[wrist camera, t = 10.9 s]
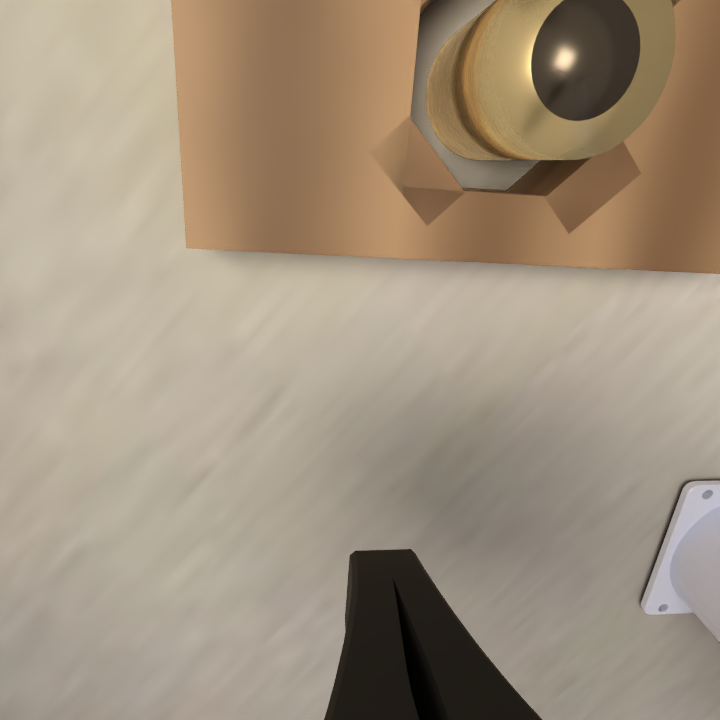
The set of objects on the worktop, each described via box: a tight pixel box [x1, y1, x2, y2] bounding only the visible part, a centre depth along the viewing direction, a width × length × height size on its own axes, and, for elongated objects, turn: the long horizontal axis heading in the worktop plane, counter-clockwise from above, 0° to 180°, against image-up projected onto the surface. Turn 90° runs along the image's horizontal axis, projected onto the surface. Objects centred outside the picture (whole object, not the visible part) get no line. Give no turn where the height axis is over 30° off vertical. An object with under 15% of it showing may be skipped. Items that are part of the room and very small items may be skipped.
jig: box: [171, 0, 720, 274], centre depth 14 cm, size 18×14×3 cm
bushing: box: [426, 0, 676, 160], centre depth 13 cm, size 4×4×6 cm
